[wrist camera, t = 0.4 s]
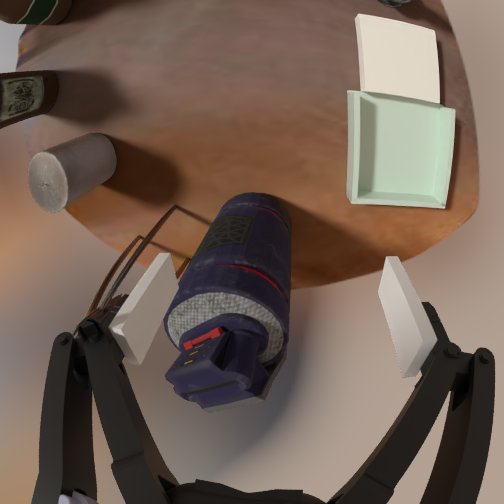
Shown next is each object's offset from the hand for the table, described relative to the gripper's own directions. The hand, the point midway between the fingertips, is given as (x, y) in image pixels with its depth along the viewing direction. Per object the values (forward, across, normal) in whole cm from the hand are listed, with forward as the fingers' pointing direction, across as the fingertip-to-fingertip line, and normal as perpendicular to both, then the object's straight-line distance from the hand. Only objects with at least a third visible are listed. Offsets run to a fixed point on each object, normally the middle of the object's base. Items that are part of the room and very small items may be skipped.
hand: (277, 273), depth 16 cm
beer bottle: (+28, -40, +39) cm, 62 cm away
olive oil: (+27, -45, +21) cm, 57 cm away
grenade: (+27, -4, -10) cm, 30 cm away
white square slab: (+27, +17, +18) cm, 37 cm away
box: (+27, +17, +4) cm, 32 cm away
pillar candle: (+27, -33, +4) cm, 43 cm away
